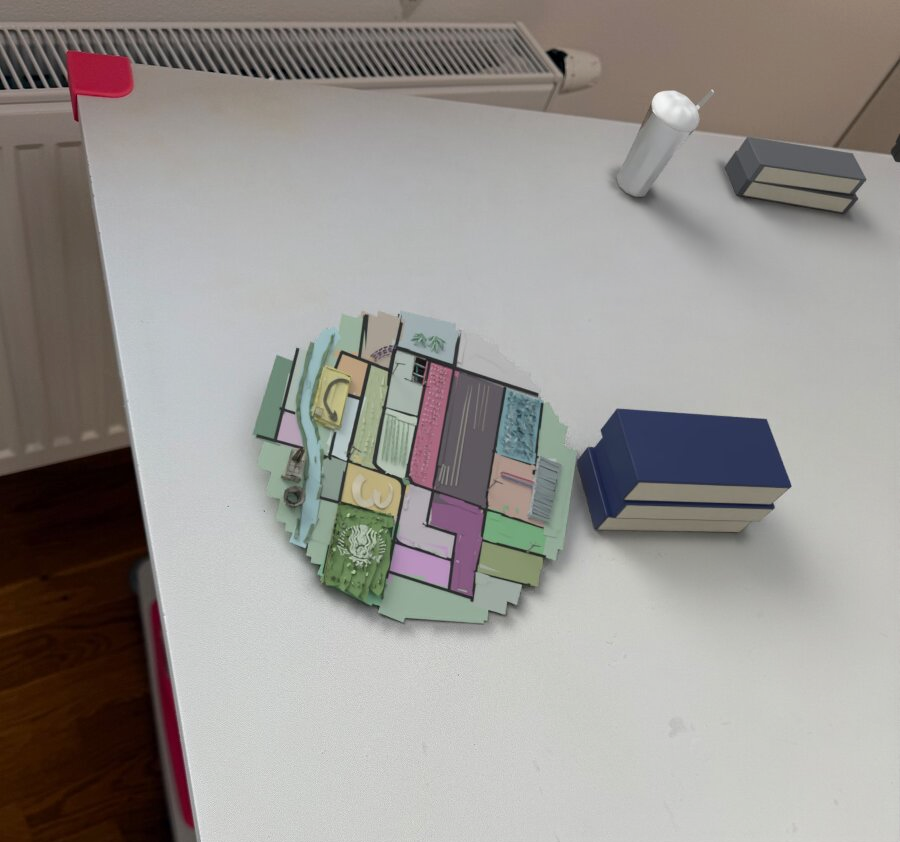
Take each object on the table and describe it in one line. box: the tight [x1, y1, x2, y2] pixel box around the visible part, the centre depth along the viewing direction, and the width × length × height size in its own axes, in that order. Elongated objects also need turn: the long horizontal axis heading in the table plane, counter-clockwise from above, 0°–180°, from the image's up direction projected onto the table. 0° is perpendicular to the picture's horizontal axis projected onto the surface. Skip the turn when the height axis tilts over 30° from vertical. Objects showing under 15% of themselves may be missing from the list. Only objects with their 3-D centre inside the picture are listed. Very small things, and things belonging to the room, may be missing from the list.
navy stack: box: [576, 437, 776, 533], centre depth 73 cm, size 13×6×4 cm, turn 101°
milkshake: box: [616, 89, 715, 198], centre depth 88 cm, size 4×5×10 cm
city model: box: [242, 309, 578, 624], centre depth 66 cm, size 25×23×6 cm
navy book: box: [599, 408, 793, 505], centre depth 70 cm, size 13×6×3 cm, turn 101°
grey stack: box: [724, 136, 867, 214], centre depth 98 cm, size 14×4×4 cm, turn 101°
